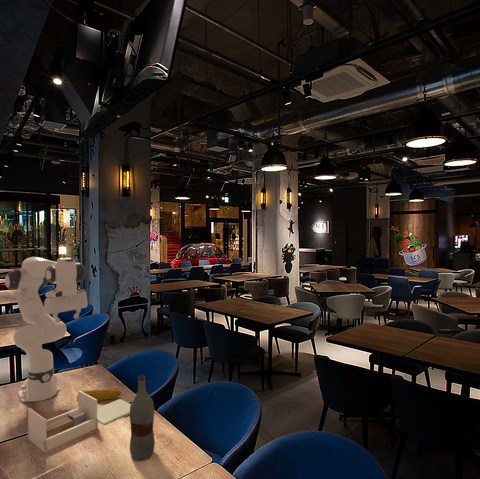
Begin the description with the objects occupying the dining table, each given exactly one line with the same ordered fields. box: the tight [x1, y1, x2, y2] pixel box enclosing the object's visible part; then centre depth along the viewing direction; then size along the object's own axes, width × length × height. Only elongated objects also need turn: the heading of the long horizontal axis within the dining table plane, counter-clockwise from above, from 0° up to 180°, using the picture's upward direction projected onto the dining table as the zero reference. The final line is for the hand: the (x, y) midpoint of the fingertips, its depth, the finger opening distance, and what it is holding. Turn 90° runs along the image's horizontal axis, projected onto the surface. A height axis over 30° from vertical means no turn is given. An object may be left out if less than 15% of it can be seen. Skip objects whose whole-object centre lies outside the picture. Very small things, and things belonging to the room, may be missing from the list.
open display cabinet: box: [27, 390, 99, 453], centre depth 146 cm, size 16×22×13 cm
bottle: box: [128, 375, 156, 462], centre depth 131 cm, size 9×9×30 cm
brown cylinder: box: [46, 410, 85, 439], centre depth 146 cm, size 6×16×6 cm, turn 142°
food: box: [76, 388, 122, 403], centre depth 177 cm, size 21×6×6 cm, turn 109°
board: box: [97, 398, 131, 426], centre depth 164 cm, size 16×18×1 cm
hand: (67, 320), depth 163 cm, fingers open, 8 cm apart
